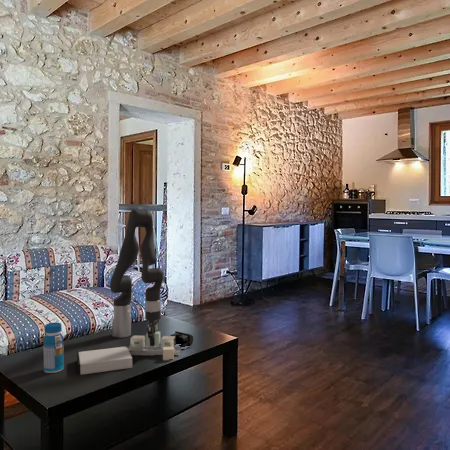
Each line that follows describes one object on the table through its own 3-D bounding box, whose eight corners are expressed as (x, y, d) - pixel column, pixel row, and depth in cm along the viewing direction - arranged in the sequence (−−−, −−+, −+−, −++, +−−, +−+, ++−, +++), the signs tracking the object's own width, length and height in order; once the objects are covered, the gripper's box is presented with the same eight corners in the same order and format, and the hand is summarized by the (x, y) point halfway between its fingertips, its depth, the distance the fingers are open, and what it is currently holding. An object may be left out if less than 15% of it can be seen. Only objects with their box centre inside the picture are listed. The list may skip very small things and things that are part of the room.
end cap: (193, 346, 213) (193, 333, 213) (184, 350, 208) (184, 336, 207) (179, 342, 219) (179, 329, 219) (169, 346, 214) (169, 333, 213)
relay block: (162, 360, 193) (162, 349, 193) (163, 357, 197) (163, 346, 197) (173, 360, 194) (173, 349, 194) (174, 357, 198) (173, 346, 198)
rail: (124, 354, 201) (124, 338, 200) (129, 349, 208) (129, 334, 207) (178, 356, 199) (178, 340, 199) (180, 351, 206) (180, 335, 206)
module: (146, 346, 201) (146, 333, 201) (148, 343, 206) (148, 331, 205) (158, 346, 201) (158, 333, 201) (160, 343, 205) (160, 331, 205)
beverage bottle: (42, 374, 177) (41, 327, 176) (44, 367, 185) (43, 322, 184) (63, 372, 179) (62, 326, 179) (65, 365, 187) (64, 321, 187)
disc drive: (76, 362, 193) (76, 351, 193) (126, 355, 201) (126, 345, 201) (78, 376, 176) (78, 364, 176) (132, 368, 185) (132, 357, 184)
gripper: (149, 305, 210) (149, 339, 211) (141, 312, 196) (141, 349, 196) (163, 306, 209) (164, 339, 210) (157, 313, 195) (157, 349, 196)
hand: (153, 344), depth 203 cm, fingers closed on module, 4 cm apart
